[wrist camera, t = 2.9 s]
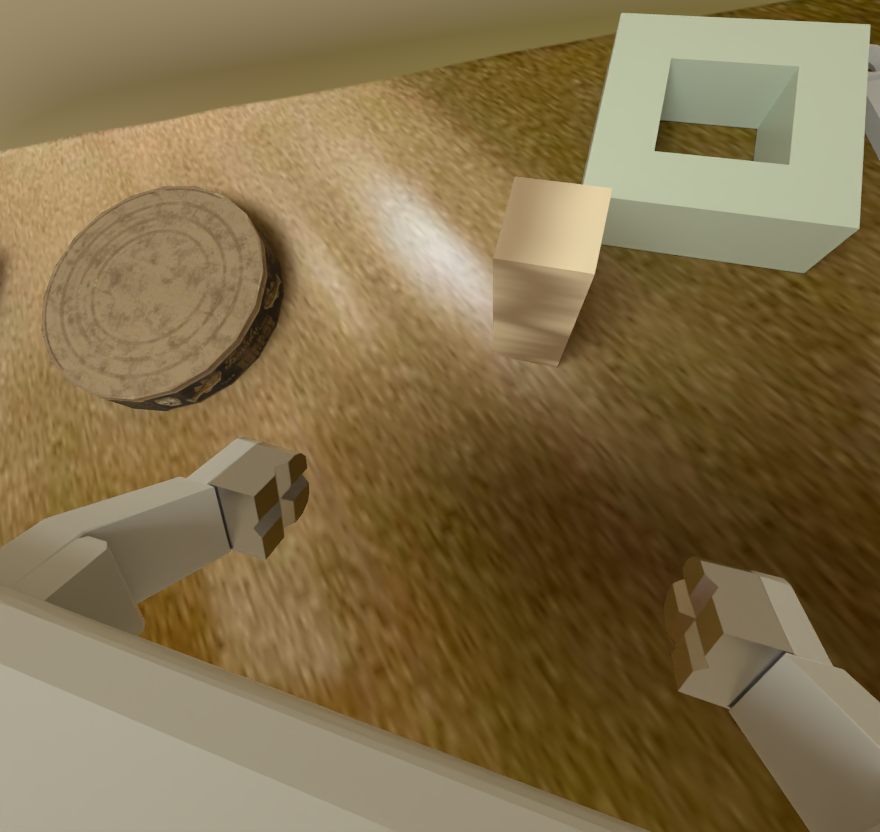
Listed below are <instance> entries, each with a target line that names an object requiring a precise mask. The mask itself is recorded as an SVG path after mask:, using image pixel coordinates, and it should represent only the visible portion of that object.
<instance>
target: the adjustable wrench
mask: <svg viewBox="0 0 880 832" xmlns="http://www.w3.org/2000/svg"><path fill="white" fill-rule="evenodd" d="M868 68H870V69H871V70H872V71H873V72H868V78H867V96H866V115H865V133H866V135H867V137H868V139H869V141H870V143H871V145H872V147H873V149H874V150H875V152H876V154H877V156H878V158H879V160H880V46H878V45H873V44H869V59H868Z"/></svg>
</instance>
